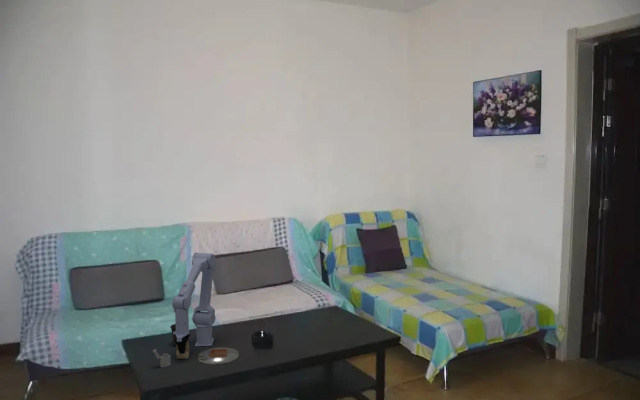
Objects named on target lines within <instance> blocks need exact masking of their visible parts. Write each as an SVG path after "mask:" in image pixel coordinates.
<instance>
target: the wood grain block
mask: <svg viewBox="0 0 640 400" xmlns="http://www.w3.org/2000/svg"><path fill="white" fill-rule="evenodd" d="M175 347H176V350H175V351H176V359H189V357H190V340H188V341H187V342H186V347H185V353H184V354H180V353H179V350H178V346H177V344H176V346H175Z"/></svg>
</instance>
